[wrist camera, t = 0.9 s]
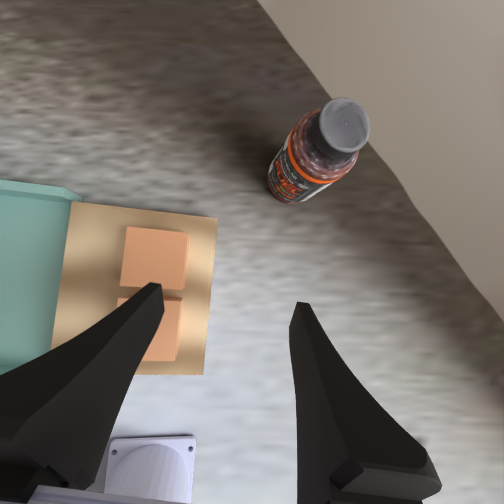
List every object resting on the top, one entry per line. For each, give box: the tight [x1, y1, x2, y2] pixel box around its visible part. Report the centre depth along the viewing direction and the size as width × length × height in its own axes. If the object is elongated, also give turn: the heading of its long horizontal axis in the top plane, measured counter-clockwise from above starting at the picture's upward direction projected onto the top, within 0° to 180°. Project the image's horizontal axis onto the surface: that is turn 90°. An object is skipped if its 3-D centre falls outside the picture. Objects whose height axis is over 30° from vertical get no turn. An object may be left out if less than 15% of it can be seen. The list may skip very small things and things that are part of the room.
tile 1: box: [120, 226, 190, 290], centre depth 21 cm, size 5×5×2 cm
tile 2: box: [117, 295, 183, 361], centre depth 20 cm, size 5×5×2 cm
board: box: [51, 201, 218, 375], centre depth 23 cm, size 15×13×2 cm
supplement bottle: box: [267, 98, 370, 204], centre depth 22 cm, size 6×6×11 cm
